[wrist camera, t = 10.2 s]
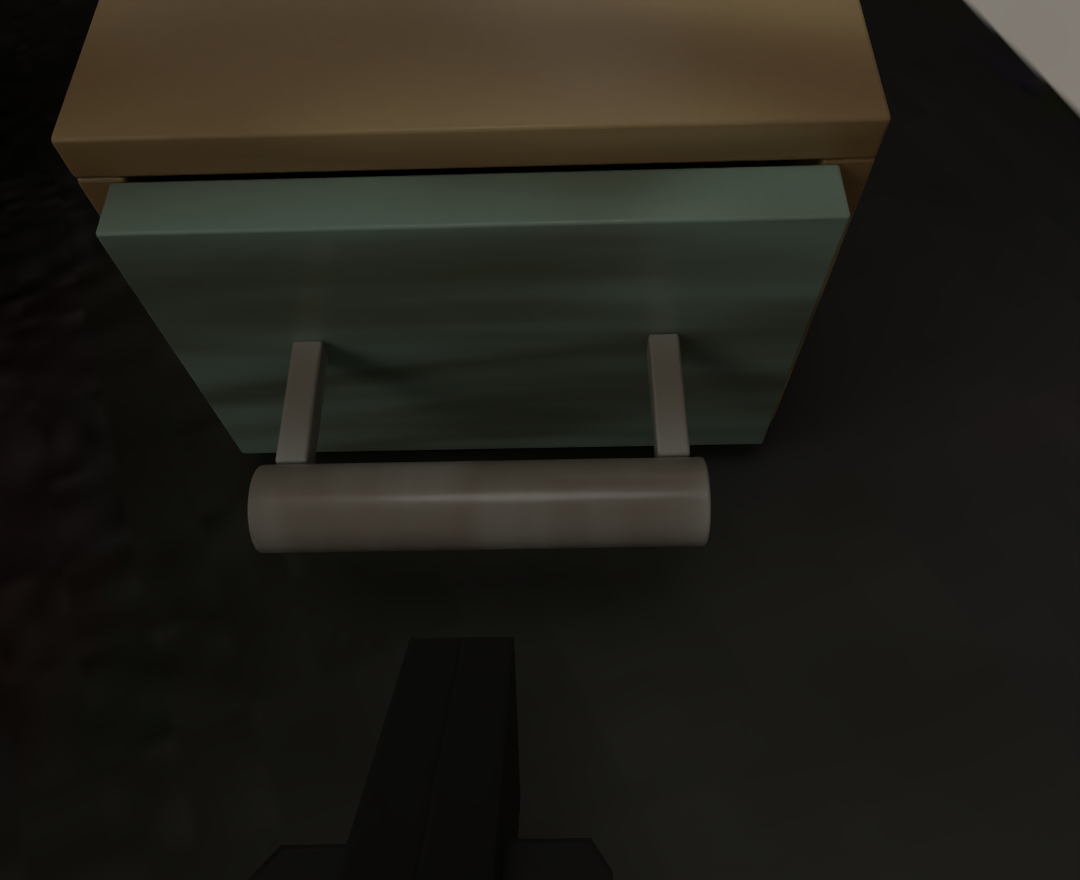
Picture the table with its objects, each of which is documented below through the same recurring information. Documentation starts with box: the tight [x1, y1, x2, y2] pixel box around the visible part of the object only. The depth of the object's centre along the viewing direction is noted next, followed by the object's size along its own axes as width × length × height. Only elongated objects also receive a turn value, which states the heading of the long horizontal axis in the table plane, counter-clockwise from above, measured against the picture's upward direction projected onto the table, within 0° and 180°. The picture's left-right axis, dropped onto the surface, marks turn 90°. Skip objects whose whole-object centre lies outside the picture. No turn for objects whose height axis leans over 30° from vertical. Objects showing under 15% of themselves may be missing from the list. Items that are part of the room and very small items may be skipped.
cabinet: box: [51, 0, 891, 419], centre depth 23 cm, size 16×14×10 cm
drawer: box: [96, 160, 850, 553], centre depth 21 cm, size 19×13×8 cm, turn 0°
